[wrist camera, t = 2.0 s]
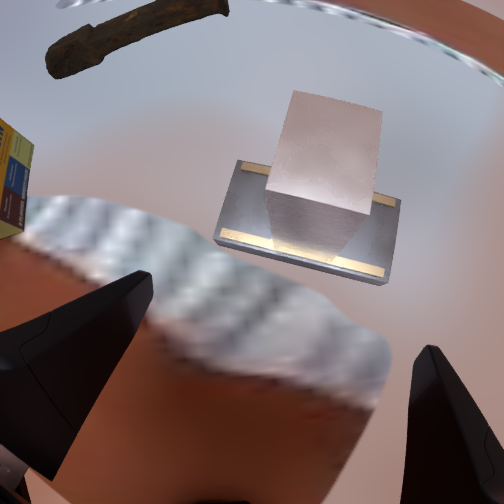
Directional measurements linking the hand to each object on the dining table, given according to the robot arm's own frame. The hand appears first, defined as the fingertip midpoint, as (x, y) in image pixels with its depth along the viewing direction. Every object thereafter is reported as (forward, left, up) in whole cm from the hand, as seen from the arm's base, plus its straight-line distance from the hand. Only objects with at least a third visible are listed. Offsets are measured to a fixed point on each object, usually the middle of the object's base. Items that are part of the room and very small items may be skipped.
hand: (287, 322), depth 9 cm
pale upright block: (+6, -3, -10) cm, 13 cm away
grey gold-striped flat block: (+6, -3, -13) cm, 14 cm away
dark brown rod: (+33, +9, -13) cm, 36 cm away
